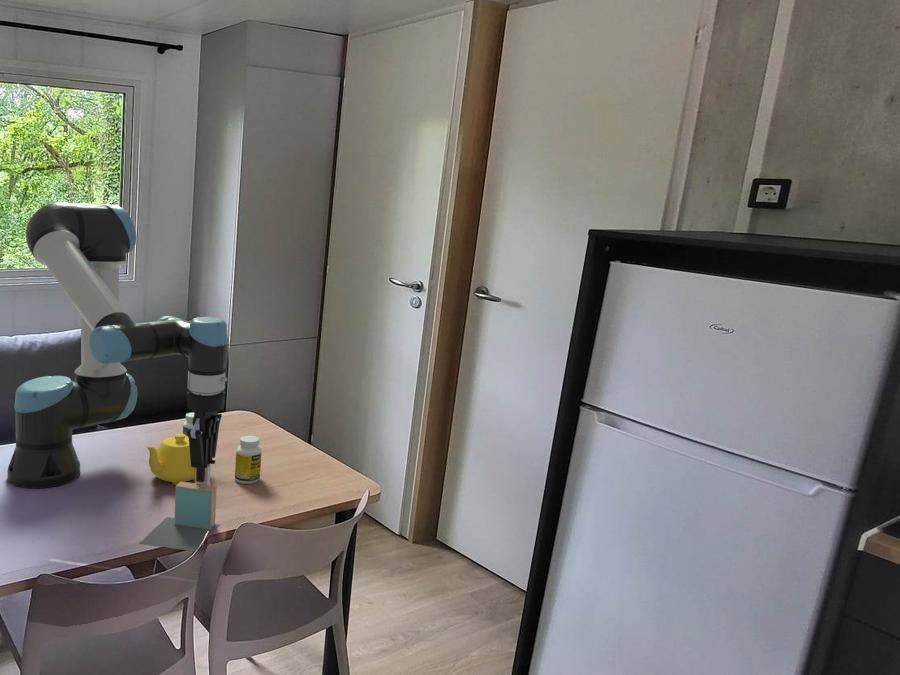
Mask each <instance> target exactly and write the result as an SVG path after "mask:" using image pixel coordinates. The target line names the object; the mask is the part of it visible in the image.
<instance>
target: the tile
mask: <svg viewBox="0 0 900 675" xmlns="http://www.w3.org/2000/svg"><path fill="white" fill-rule="evenodd" d="M217 489H218V488H217V485H216V486H215V485H211V484H210V485H203V484H196V483H195V482H189V481H184V482H180V483H178V484H177V485H175V491H174V492H175V493H174V495H175V498H174V518H175V521H174V525H181V526H188V527H195V528H202V529H209V530H211V528H212V527H213V526H214V525H215V524H216V509H217V508H216V507H217V506H216V505H217Z"/></svg>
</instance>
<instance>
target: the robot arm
mask: <svg viewBox="0 0 900 675" xmlns="http://www.w3.org/2000/svg"><path fill="white" fill-rule="evenodd" d="M134 223H135V222H134V220H133V219H132V217H131V216H130V214H129V212H128V211H126V209H125V208H123V207H121V206H119V205H115V204H107V203H89V202H88V203H84V202H82V203H81V202H67V201H65V202H64V201H56V202H55V201H54V202H50V203H47V204H46V205H43V206H41V207H40V208H38V209H37V210H36V211H35V212H34V213H33V214H32V215H31V217H30V219H29V220H28V223H27V225H26V229H25V240H26V244H27V248H28V249H29V251H30V253H31V254H32V257H34V259H35V260H36V261H37V263H39V264H40V265H43V266H46V267H47V269H48V270H49V271H50V273H51V274H52V276H53V277H54V279H55V280H56V281H57V283H58V285H59V286H60V288H62V290H63V291H64V293H65V294H66V295H67V297H68V298H69V300H70V301H71V303H72V304H73V305H74V307H75V309H76V310H77V311H78V313H79V315H80V345H81V346H80V347H81V348H80V350H81V351H80V354H81V355H80V356H81V363H80V365H79V366H78V367H77V368H76V369H75V370H74V380H72V379H71V378H70V377H68V376H64V375H53V376H50V375H46V376H41V377H35V378H33V379H30V380H27V381H25V382H23V383H21V385H19V386H18V387H17V389H16V391H15V400H14V405H13V408H14V419H15V420H14V421H15V427H14V428H15V448H14V451H13V453H12V457H11V459H10V462H9V464H8V467H7V482H9V484H11V485H13V486H15V487H20V488H26V489H43V488H45V489H46V488H52V487H56V486H61V485H64V484H68V483H70V482H72V481H74V480H75V479H77V478H78V477H79V476H80V474H81V463H80V460H79V458H78V454H77V451H76V449H75V447H74V445H73V444H74V443H73V431H74V430H77V429H82V428H86V427H92V426H96V425H100V424H109V423H113V422H116V421H118V420H119V421H120V420H123V419H126V418H127V417H128V416H130V414H131V413H132V412H134V409H135V407H136V404H137V401H138V400H137V399H138V389H137V388H138V387H137V385H136V384H135V383H136V381H135V379H134V377H133V376H132V375H131V374H129V373H127V372H128V370H127V367H125V366H124V365H122V363H125V362H130V361H137V360H143V359H151V358H161V357H166V356H175V355H179V356H182V357H184V358H186V359H188V370H187V372H188V373H187V386H186V388H187V389H188V391H187V396H186V399H187V400H186V407H187V408H188V409H189V410H190V411H192V413H194V417H193V428H192V429H188V430H187V435H188V438H189V448H190V460H191V467H195V468H196V473H195V480H194V483H196V484H203V485H210V486H211V468H212V466H211V465H215V464H216V460H215V458H216V453H217V452H216V451H217V445H218V439H219V437H218V436H219V432H220V423H221V420H222V416H223V415H222V413H220V412H219V411H221V410H223V409H224V407H225V394H226V393H225V391H224V390H225V388H226V382H228V378H227V377H226V371H227V370H226V369H227V352H228V342H229V338H228V323H227V322H226V320H224V319H222V318H219V317H213V316H200V317H199V316H197V317H193V319H192V318H191V320H190V321H189V320H186V319H184V318H181V317H178V316H171V315H164V316H162V317H160V318H158V319H156V320H155V321H147V322H145V321H144V322H134V321H133V319H132V318H131V317H130V316H129V314H128V313H127V312H126V310H125V309H124V307H123V306H122V305H121V303H120V268H121V267H122V266H123V265H124V264H125V263H126V262H127V260H126V259H127V258H126V257H127V256H126V255H127V254H129V253H131V252H132V251H133V250H134V248H135V246H136V243H137V230H136V226H135V224H134ZM218 412H219V413H218Z"/></svg>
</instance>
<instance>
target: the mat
mask: <svg viewBox="0 0 900 675" xmlns="http://www.w3.org/2000/svg"><path fill="white" fill-rule="evenodd" d="M174 521H175V517H169V516H168V517H167V516H166V517H165V518H164V519H163V520H162V521H161V522H160V523H159V524H158V525H157V526H155V527H154V529H153V530H151V531H150V532H149V534H147V535H146V536H145V537H144V538H143V539H142V540H141V541H140V542H139V544H140V545H147V546H148V545H149V546H155V547H161V548H168V549H173V550H181V551H188V552H193V553H196V552H195V551H196V549H197V548H198V547H199V545H200V544H201V542H202V539H203V537H204V536H205V534H206V533H207V531H209V533H210V534H209V538H210V537H211V536H212V534H214V533H215V531H216V530H217V529H218V528H219V526H220V524H217V523H215V525H214V526H213V527H212V528H211V530H209V529H202V528H195V527H188V526H181V525H174Z"/></svg>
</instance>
